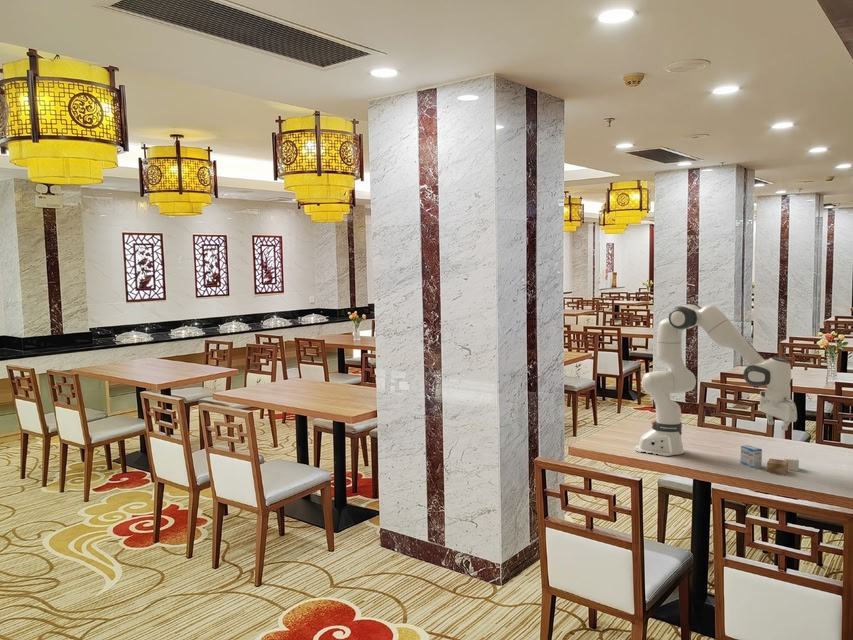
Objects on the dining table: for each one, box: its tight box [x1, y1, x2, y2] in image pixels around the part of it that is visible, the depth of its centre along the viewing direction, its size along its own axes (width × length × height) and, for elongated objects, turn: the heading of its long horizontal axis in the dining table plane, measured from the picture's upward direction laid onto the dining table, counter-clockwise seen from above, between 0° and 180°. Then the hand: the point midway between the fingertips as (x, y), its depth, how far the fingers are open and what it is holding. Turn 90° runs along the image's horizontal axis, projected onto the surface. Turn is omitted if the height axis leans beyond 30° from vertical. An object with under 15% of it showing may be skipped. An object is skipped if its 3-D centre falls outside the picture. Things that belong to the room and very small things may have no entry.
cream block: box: [783, 455, 800, 472], centre depth 291 cm, size 5×5×5 cm
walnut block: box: [766, 458, 789, 476], centre depth 286 cm, size 7×7×5 cm
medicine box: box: [740, 444, 763, 469], centre depth 296 cm, size 8×4×9 cm, turn 19°
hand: (777, 427), depth 286 cm, fingers open, 8 cm apart
